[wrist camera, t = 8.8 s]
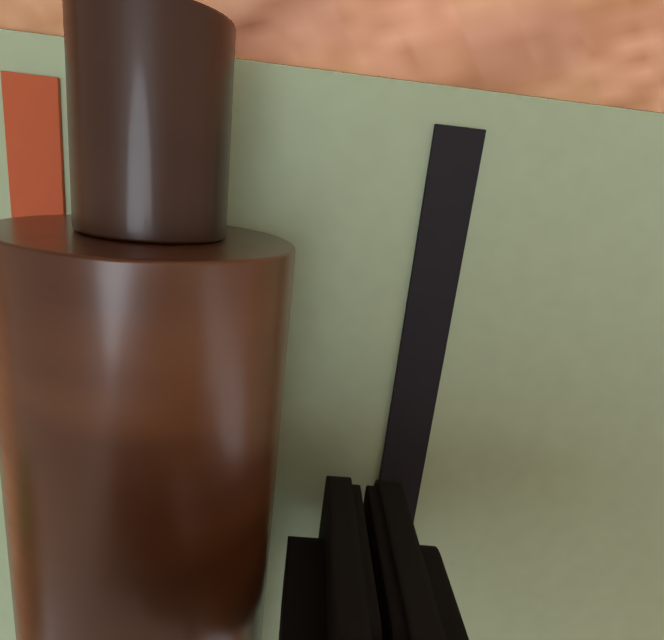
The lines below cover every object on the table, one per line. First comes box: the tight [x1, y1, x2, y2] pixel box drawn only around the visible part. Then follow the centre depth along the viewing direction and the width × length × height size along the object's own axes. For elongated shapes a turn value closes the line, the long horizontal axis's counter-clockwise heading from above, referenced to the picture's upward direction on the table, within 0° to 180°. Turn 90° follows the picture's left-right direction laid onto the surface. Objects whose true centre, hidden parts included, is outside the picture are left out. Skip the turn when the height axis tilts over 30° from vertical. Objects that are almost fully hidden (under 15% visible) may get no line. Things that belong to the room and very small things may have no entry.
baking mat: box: [0, 29, 664, 640], centre depth 12 cm, size 24×19×1 cm
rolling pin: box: [0, 0, 296, 640], centre depth 9 cm, size 4×19×4 cm, turn 174°
